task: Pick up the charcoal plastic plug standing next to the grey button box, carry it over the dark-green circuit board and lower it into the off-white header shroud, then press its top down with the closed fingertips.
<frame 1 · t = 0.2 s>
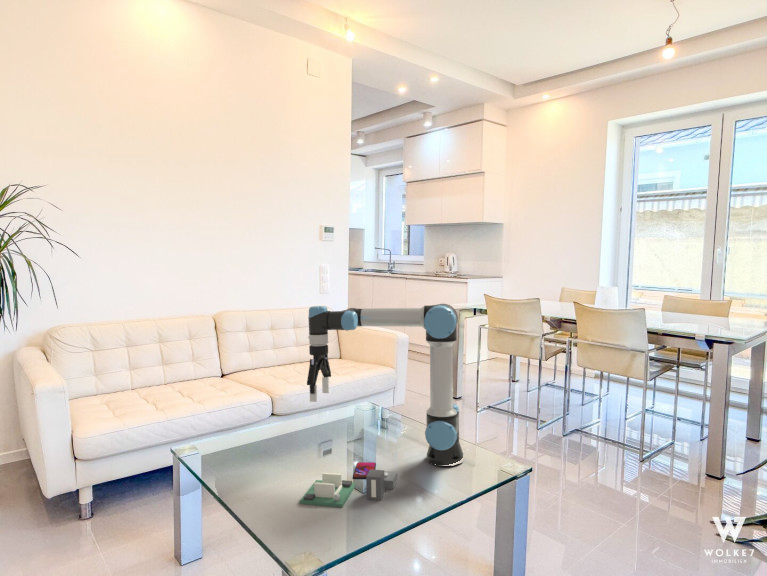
hand: (319, 397, 194), 28 cm above the table, fingers open, 13 cm apart
plug: (375, 496, 167), on the table
grey button box: (384, 483, 177), on the table
board: (328, 494, 169), on the table
smartphone: (364, 472, 189), on the table
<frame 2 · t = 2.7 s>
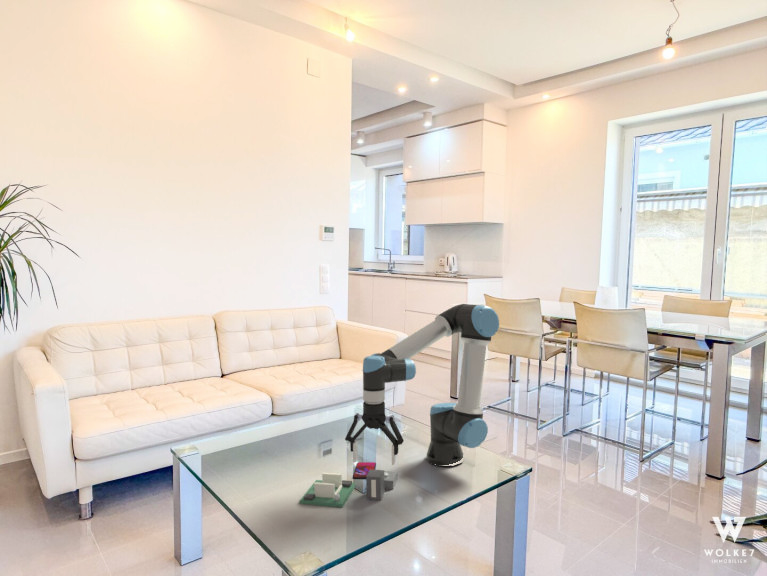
hand: (374, 462, 167), 12 cm above the table, fingers open, 13 cm apart
nothing on the table moved.
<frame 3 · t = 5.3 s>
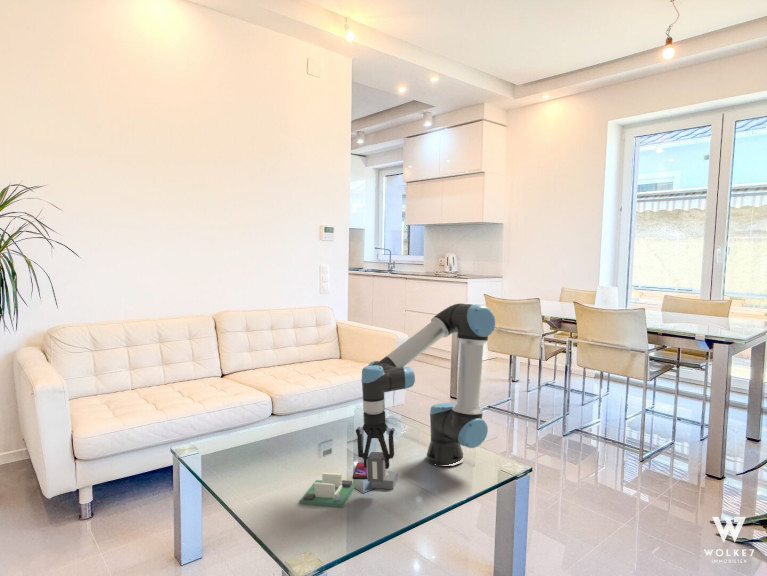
hand: (377, 476, 167), 7 cm above the table, fingers closed on plug, 5 cm apart
plug: (377, 477, 167), point 6 cm above the table, touching gripper
everything else where it was.
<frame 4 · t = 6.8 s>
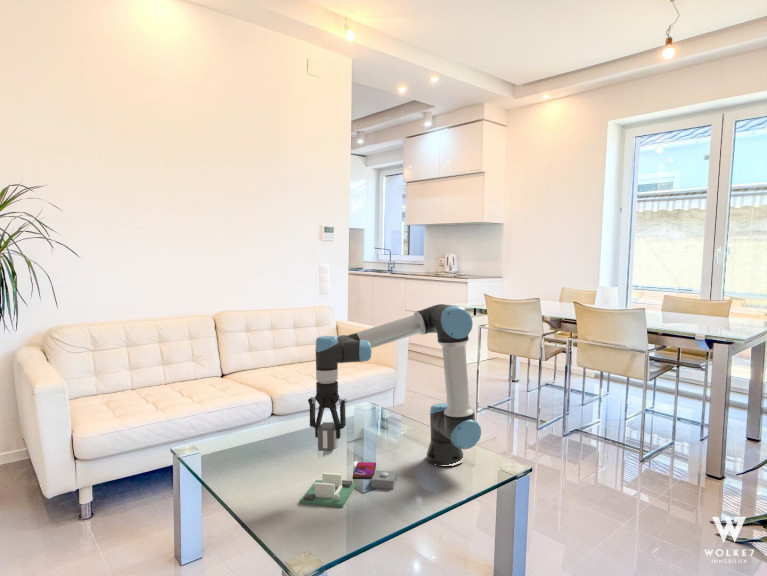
hand: (328, 447, 168), 17 cm above the table, fingers closed on plug, 5 cm apart
plug: (328, 447, 168), point 17 cm above the table, touching gripper
everything else where it was.
when the fingers open (3 cm above the table, at t = 8.6 s): plug drops 2 cm, resting on board.
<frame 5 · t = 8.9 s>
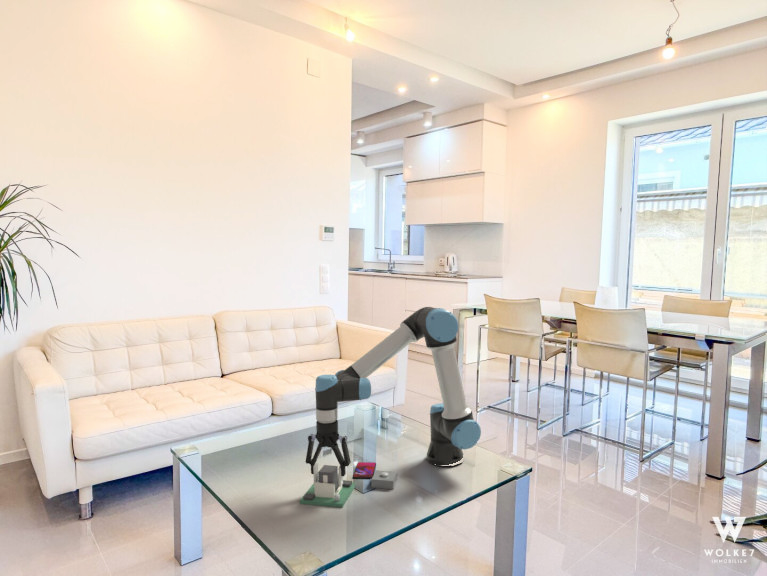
hand: (328, 483, 169), 4 cm above the table, fingers open, 8 cm apart
plug: (328, 491, 169), point 1 cm above the table, touching board
everything else where it was.
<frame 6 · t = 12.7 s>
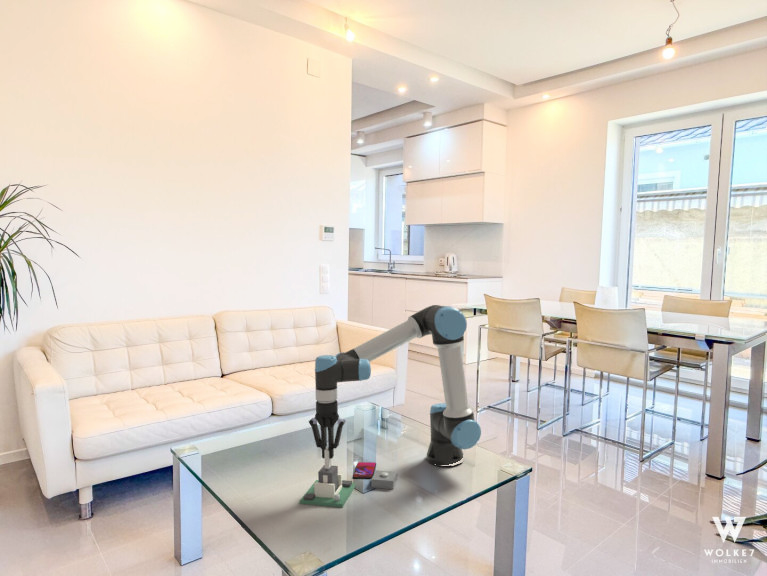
hand: (328, 467, 169), 10 cm above the table, fingers closed
nothing on the table moved.
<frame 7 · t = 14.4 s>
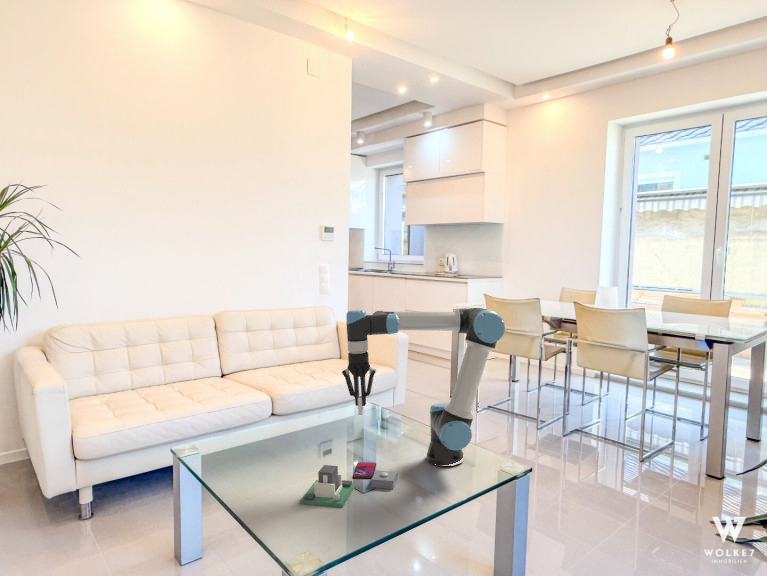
hand: (361, 414, 181), 25 cm above the table, fingers closed
nothing on the table moved.
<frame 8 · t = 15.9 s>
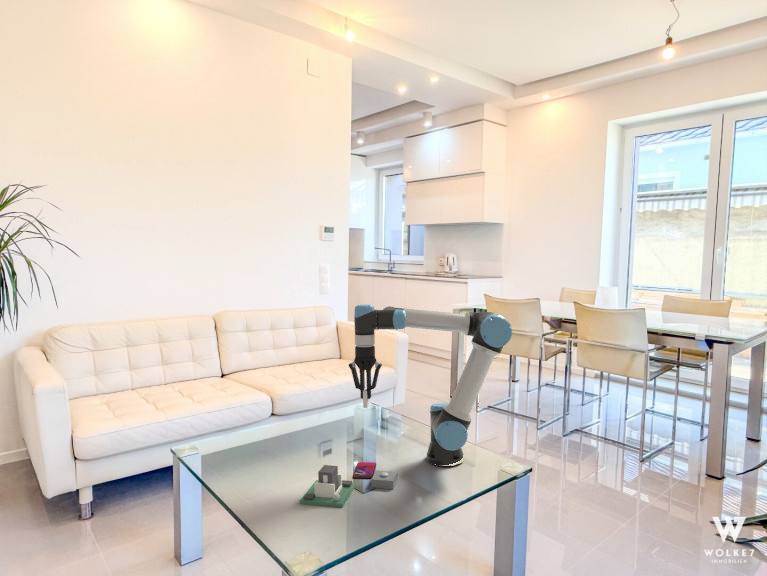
hand: (366, 406, 184), 26 cm above the table, fingers closed
nothing on the table moved.
at the end: plug 0.1 cm off-centre on the board, point 1.2 cm above the board's base; plug tilted 0°; the gripper is holding nothing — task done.
